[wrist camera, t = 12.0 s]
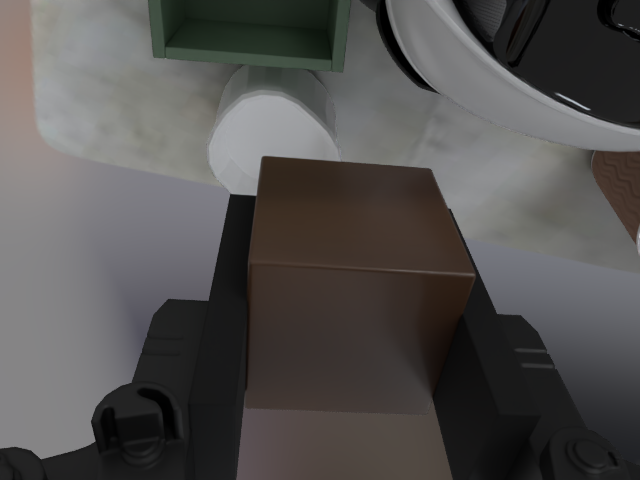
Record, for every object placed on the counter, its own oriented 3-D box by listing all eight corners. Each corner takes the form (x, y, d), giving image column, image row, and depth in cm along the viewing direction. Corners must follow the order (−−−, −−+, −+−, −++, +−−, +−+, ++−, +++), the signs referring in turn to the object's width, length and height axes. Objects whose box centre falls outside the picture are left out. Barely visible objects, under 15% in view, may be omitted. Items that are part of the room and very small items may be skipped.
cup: (227, 40, 43) (211, 80, 35) (347, 64, 44) (358, 108, 36) (216, 146, 48) (200, 202, 40) (323, 165, 50) (328, 222, 42)
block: (261, 153, 13) (247, 261, 10) (431, 167, 14) (478, 274, 10) (256, 286, 16) (243, 410, 12) (399, 294, 16) (428, 416, 13)
